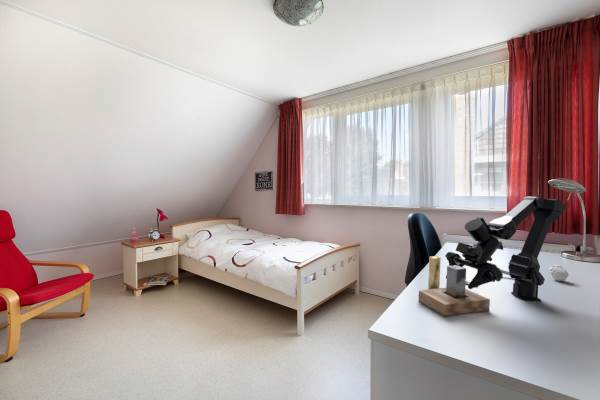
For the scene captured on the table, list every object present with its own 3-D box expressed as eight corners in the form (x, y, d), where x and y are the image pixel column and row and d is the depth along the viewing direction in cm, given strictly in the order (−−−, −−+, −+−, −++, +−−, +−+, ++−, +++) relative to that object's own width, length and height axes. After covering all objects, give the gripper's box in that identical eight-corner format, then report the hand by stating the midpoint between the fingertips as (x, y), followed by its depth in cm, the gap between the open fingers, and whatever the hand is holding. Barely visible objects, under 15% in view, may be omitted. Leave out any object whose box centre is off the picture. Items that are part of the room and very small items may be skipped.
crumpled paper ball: (558, 278, 124) (559, 263, 123) (572, 283, 117) (573, 267, 117) (544, 277, 124) (545, 262, 124) (557, 283, 117) (558, 267, 117)
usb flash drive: (478, 287, 111) (478, 285, 111) (469, 289, 110) (469, 286, 110) (460, 280, 119) (460, 278, 119) (451, 281, 118) (451, 279, 118)
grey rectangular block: (454, 301, 95) (456, 265, 94) (464, 306, 91) (466, 268, 90) (445, 302, 94) (447, 266, 93) (454, 307, 90) (456, 269, 89)
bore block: (459, 296, 100) (459, 286, 100) (489, 311, 89) (489, 299, 89) (418, 301, 96) (418, 290, 96) (444, 317, 84) (445, 304, 84)
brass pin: (436, 287, 109) (438, 256, 109) (440, 291, 105) (442, 259, 105) (426, 287, 110) (427, 256, 109) (430, 290, 106) (431, 258, 105)
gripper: (449, 230, 102) (424, 260, 100) (497, 239, 84) (468, 277, 82) (465, 249, 104) (441, 280, 102) (515, 263, 86) (487, 299, 84)
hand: (457, 283), depth 92 cm, fingers open, 9 cm apart
